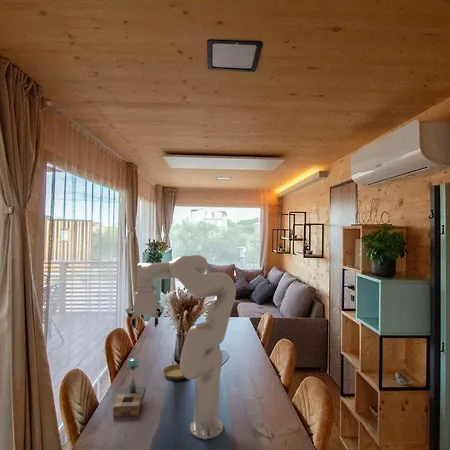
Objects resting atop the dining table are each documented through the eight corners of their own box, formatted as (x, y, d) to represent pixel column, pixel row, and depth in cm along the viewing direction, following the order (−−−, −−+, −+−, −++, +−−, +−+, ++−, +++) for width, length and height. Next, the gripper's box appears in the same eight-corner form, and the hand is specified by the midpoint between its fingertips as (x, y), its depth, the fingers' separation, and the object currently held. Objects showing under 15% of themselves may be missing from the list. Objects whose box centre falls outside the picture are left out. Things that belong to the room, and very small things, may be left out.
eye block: (138, 415, 131) (138, 405, 132) (113, 416, 130) (113, 406, 130) (141, 402, 141) (141, 393, 141) (118, 403, 140) (118, 394, 140)
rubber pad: (142, 398, 144) (142, 397, 144) (119, 399, 143) (119, 398, 143) (145, 387, 154) (145, 386, 154) (123, 388, 153) (123, 387, 153)
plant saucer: (163, 383, 160) (164, 377, 160) (161, 370, 174) (162, 365, 174) (193, 379, 164) (193, 374, 164) (189, 367, 178) (189, 363, 178)
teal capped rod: (139, 389, 151) (139, 357, 152) (137, 394, 146) (137, 361, 147) (128, 389, 151) (128, 357, 151) (126, 395, 146) (126, 362, 146)
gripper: (164, 287, 154) (164, 323, 153) (127, 288, 151) (127, 325, 151) (163, 290, 146) (163, 328, 146) (124, 291, 144) (124, 330, 143)
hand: (145, 326), depth 148 cm, fingers open, 9 cm apart
